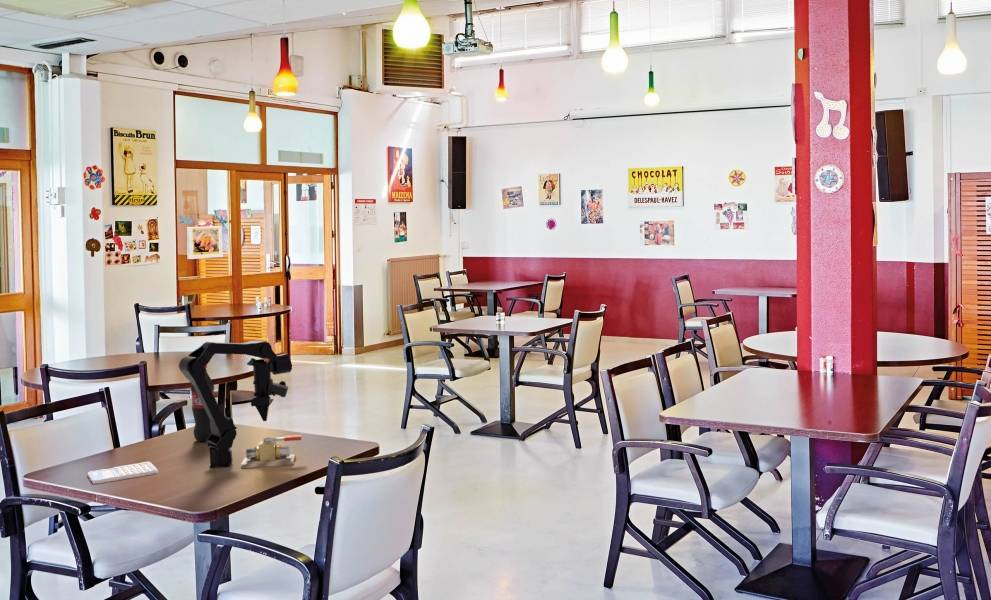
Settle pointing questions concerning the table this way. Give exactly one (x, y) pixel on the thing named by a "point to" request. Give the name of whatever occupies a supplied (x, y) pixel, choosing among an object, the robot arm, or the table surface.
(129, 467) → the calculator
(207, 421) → the cola bottle
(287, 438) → the valve lever
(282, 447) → the brass valve
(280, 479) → the table surface
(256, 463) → the mounting board
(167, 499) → the table surface
